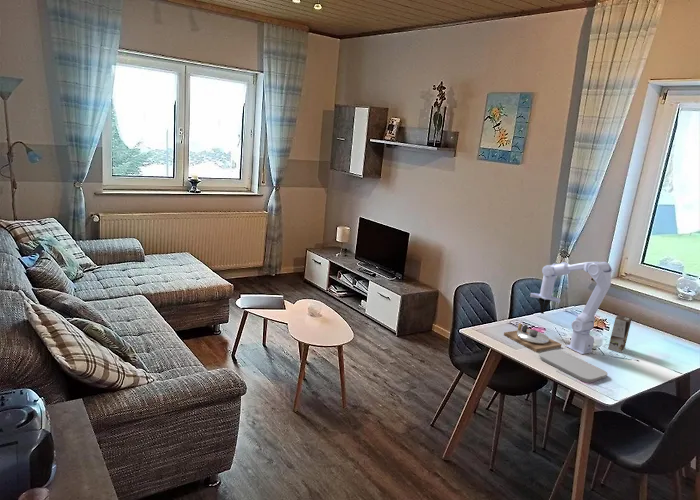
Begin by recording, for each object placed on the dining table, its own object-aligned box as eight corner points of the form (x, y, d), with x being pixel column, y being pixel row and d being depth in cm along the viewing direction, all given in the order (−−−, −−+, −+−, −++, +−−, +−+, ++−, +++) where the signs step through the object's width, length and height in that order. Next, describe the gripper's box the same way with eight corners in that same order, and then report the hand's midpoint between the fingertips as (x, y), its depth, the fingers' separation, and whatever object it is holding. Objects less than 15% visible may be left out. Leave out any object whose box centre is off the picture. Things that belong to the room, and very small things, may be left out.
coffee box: (621, 353, 245) (629, 322, 241) (607, 348, 249) (614, 318, 245) (625, 348, 252) (632, 317, 248) (611, 343, 256) (618, 314, 252)
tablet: (557, 353, 238) (558, 348, 237) (609, 378, 217) (610, 373, 216) (535, 358, 229) (536, 353, 229) (586, 385, 208) (587, 380, 208)
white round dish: (541, 333, 255) (543, 325, 254) (553, 345, 241) (555, 336, 240) (512, 330, 255) (514, 322, 254) (522, 342, 240) (524, 334, 239)
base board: (560, 347, 244) (563, 336, 243) (535, 351, 236) (537, 341, 234) (528, 331, 261) (530, 321, 260) (503, 335, 252) (505, 324, 251)
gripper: (531, 286, 256) (526, 311, 259) (561, 292, 250) (556, 318, 253) (532, 283, 262) (528, 308, 265) (562, 289, 256) (557, 314, 259)
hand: (542, 313), depth 260 cm, fingers closed
